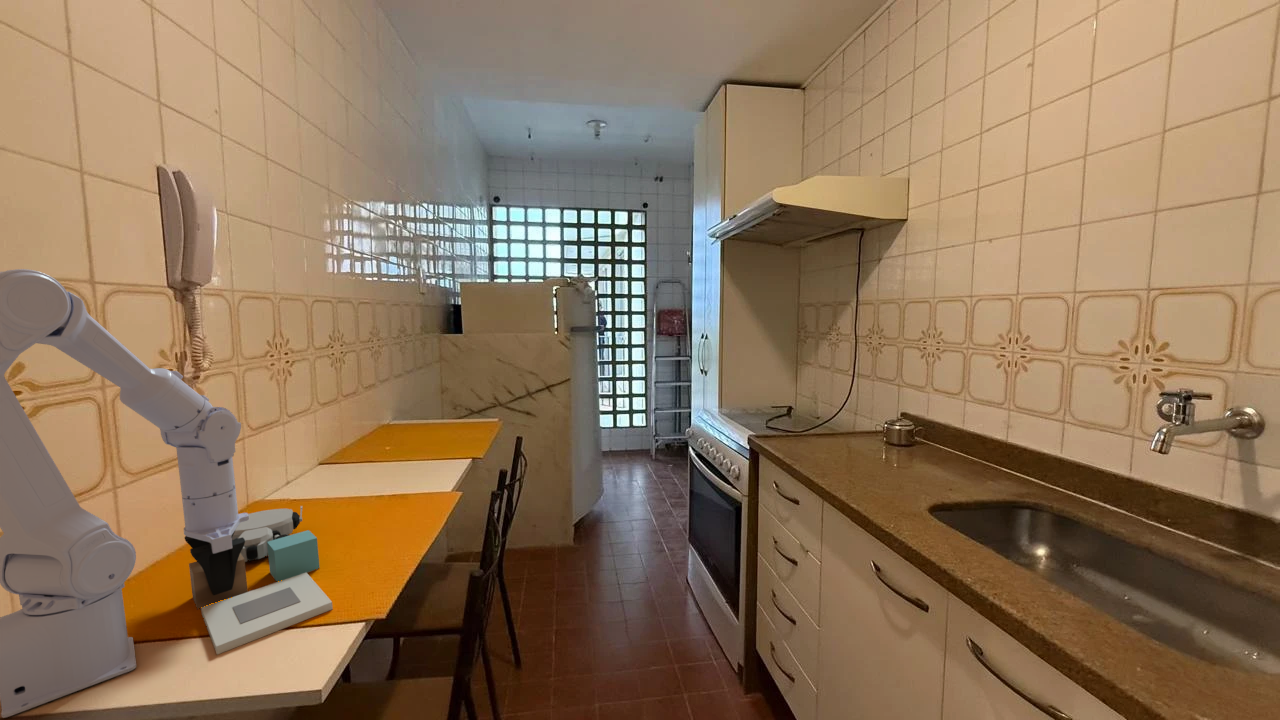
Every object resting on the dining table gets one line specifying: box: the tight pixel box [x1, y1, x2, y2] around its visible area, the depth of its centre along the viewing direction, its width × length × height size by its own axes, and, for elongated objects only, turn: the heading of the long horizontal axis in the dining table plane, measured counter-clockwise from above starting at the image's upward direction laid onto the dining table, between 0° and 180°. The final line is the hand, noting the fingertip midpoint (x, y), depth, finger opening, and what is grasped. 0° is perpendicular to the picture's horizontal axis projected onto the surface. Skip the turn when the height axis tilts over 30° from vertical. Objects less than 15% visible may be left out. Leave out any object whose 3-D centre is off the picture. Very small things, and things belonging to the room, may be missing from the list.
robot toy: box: [232, 505, 303, 563], centre depth 87 cm, size 12×4×15 cm
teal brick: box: [267, 529, 320, 582], centre depth 79 cm, size 6×4×5 cm
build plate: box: [200, 572, 333, 655], centre depth 68 cm, size 12×12×1 cm
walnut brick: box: [188, 553, 249, 610], centre depth 72 cm, size 6×4×5 cm
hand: (219, 585), depth 72 cm, fingers closed on walnut brick, 4 cm apart
